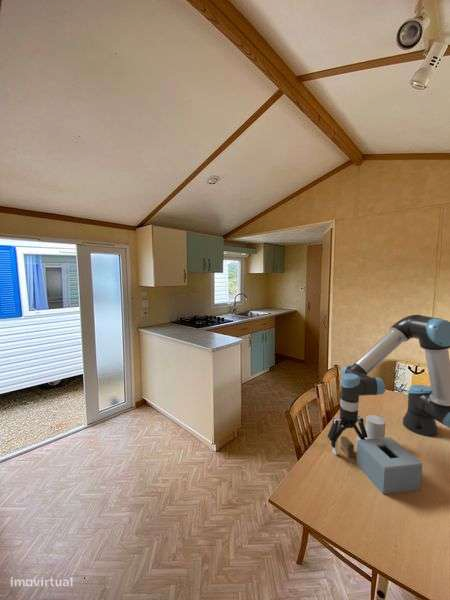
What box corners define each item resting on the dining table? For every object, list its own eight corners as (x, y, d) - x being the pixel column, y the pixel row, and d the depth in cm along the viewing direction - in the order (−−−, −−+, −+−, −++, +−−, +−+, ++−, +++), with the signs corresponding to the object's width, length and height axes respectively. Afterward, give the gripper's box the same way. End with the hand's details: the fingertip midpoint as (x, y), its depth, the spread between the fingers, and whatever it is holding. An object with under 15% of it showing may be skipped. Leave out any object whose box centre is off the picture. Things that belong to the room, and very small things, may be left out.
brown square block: (345, 448, 123) (345, 436, 122) (353, 457, 117) (353, 444, 116) (340, 448, 123) (341, 436, 122) (348, 457, 117) (348, 445, 116)
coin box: (389, 460, 115) (390, 437, 114) (420, 489, 99) (422, 463, 98) (356, 463, 113) (357, 440, 112) (382, 494, 97) (384, 467, 96)
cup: (386, 448, 122) (388, 425, 121) (368, 446, 124) (369, 423, 123) (380, 438, 130) (381, 415, 129) (362, 436, 132) (364, 414, 131)
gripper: (367, 402, 123) (364, 444, 125) (320, 405, 120) (318, 449, 122) (378, 410, 115) (375, 455, 118) (329, 414, 112) (327, 460, 115)
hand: (346, 452), depth 120 cm, fingers open, 11 cm apart
